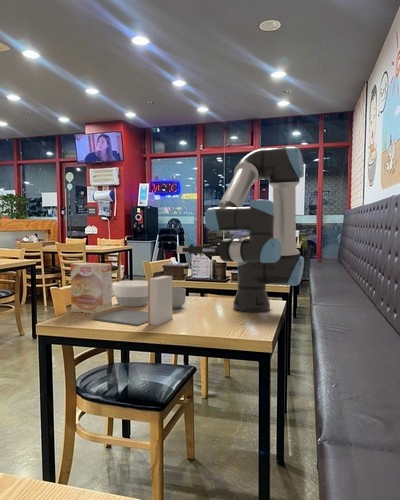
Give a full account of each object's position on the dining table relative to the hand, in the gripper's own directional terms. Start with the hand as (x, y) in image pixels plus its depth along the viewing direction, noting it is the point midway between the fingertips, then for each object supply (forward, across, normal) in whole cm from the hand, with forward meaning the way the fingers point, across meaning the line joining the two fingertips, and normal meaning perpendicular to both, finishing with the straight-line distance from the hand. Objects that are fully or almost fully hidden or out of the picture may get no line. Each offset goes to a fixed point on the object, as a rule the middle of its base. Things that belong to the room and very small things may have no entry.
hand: (178, 249), depth 144 cm
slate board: (+19, +5, +26) cm, 32 cm away
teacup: (+19, -18, +25) cm, 36 cm away
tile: (+5, +3, +26) cm, 27 cm away
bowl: (+36, -14, +24) cm, 46 cm away
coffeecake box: (+39, +7, +26) cm, 47 cm away
